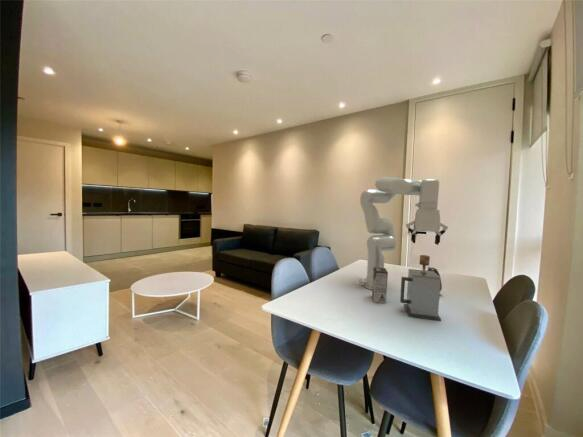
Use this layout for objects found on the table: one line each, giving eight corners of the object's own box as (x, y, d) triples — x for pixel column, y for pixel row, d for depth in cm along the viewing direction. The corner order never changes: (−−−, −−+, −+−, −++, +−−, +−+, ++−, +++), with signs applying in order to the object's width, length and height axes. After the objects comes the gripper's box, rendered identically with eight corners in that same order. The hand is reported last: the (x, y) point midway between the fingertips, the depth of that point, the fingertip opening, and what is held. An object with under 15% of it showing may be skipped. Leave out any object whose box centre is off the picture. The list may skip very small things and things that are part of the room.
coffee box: (371, 295, 139) (373, 266, 138) (383, 297, 137) (385, 267, 136) (373, 302, 130) (375, 271, 129) (386, 303, 128) (388, 272, 127)
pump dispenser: (436, 291, 150) (437, 265, 149) (444, 297, 140) (446, 270, 139) (418, 289, 151) (419, 264, 150) (425, 296, 141) (427, 269, 140)
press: (402, 315, 114) (404, 274, 113) (397, 304, 127) (400, 267, 126) (440, 321, 110) (444, 278, 109) (432, 309, 123) (435, 270, 122)
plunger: (413, 301, 115) (416, 257, 113) (409, 294, 123) (412, 253, 122) (435, 303, 112) (438, 258, 111) (430, 296, 121) (432, 254, 120)
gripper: (409, 205, 114) (406, 243, 115) (452, 207, 110) (448, 246, 111) (406, 205, 121) (403, 240, 122) (446, 207, 117) (443, 243, 118)
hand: (425, 243), depth 117 cm, fingers open, 9 cm apart
